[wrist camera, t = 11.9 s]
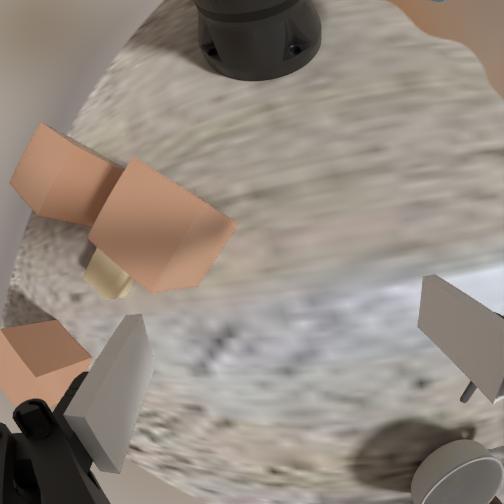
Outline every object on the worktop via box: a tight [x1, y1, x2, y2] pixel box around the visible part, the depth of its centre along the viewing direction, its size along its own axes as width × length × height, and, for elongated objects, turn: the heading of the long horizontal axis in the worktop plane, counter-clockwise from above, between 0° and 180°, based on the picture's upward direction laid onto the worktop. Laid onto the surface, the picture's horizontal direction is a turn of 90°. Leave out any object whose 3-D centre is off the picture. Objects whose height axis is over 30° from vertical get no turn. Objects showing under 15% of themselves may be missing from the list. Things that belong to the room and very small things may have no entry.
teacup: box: [411, 439, 504, 504], centre depth 21 cm, size 14×11×8 cm
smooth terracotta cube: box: [87, 157, 238, 293], centre depth 27 cm, size 8×8×10 cm
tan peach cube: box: [0, 320, 92, 407], centre depth 30 cm, size 8×8×10 cm
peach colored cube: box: [10, 122, 124, 227], centre depth 30 cm, size 8×8×10 cm
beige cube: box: [82, 248, 134, 300], centre depth 32 cm, size 4×4×4 cm
